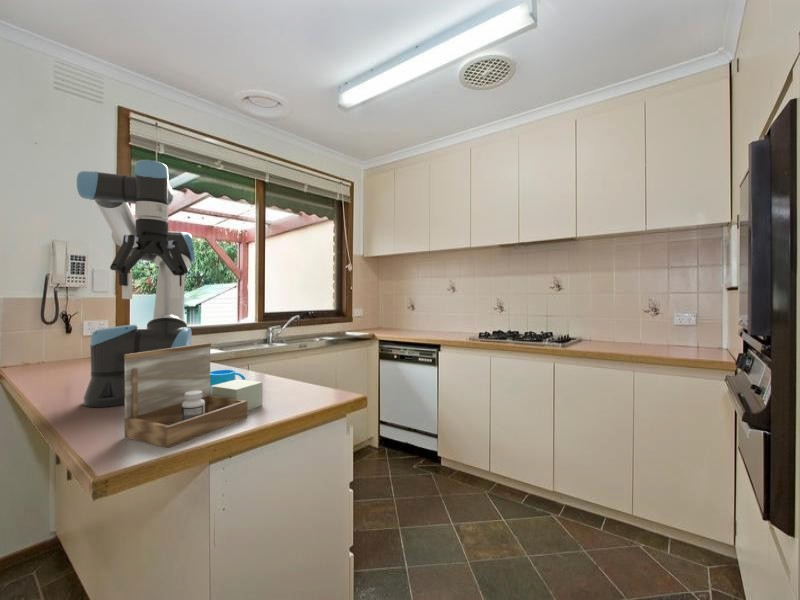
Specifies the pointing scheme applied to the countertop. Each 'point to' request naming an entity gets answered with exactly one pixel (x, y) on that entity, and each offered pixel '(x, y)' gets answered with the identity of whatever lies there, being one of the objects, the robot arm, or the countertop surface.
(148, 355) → the wooden tray with backboard
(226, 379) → the mug
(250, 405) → the step
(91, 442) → the countertop surface
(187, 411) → the pill bottle
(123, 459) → the countertop surface
